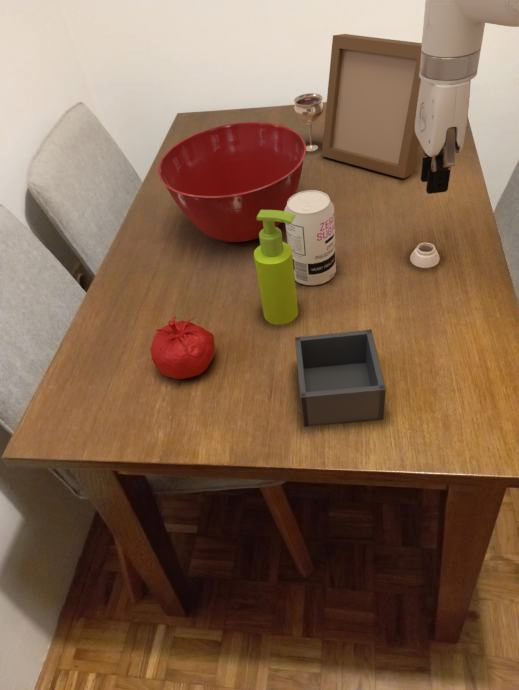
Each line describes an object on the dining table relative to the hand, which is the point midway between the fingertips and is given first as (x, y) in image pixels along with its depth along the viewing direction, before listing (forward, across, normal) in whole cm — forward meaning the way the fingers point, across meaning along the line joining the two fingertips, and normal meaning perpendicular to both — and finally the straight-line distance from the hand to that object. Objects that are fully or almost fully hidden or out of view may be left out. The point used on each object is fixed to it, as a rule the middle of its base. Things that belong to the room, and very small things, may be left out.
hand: (433, 185), depth 84 cm
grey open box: (+12, +28, -14) cm, 33 cm away
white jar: (+15, 0, 0) cm, 15 cm away
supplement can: (+15, 0, -20) cm, 25 cm away
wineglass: (+15, -48, -16) cm, 53 cm away
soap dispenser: (+15, +10, -26) cm, 32 cm away
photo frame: (+15, -40, -1) cm, 43 cm away
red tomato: (+15, +19, -42) cm, 49 cm away
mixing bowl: (+15, -19, -33) cm, 41 cm away
